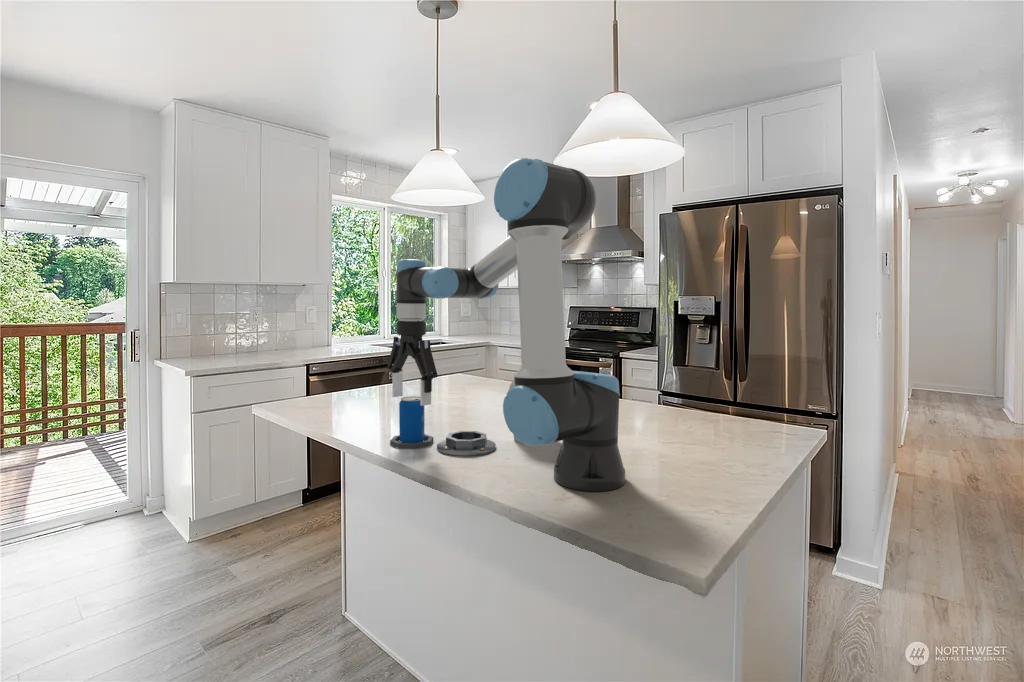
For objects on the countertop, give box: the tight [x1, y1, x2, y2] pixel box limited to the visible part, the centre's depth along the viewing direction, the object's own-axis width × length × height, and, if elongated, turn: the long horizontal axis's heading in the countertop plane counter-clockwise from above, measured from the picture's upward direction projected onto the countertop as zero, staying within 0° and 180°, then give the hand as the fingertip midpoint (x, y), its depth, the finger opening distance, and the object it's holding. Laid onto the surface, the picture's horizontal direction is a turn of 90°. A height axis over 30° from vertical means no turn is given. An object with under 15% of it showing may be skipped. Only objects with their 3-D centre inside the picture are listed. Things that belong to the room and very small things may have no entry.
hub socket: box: [436, 430, 497, 458], centre depth 137 cm, size 15×15×3 cm
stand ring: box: [389, 433, 434, 450], centre depth 141 cm, size 10×10×1 cm
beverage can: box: [398, 395, 425, 443], centre depth 141 cm, size 6×6×12 cm
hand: (411, 400), depth 141 cm, fingers open, 13 cm apart
